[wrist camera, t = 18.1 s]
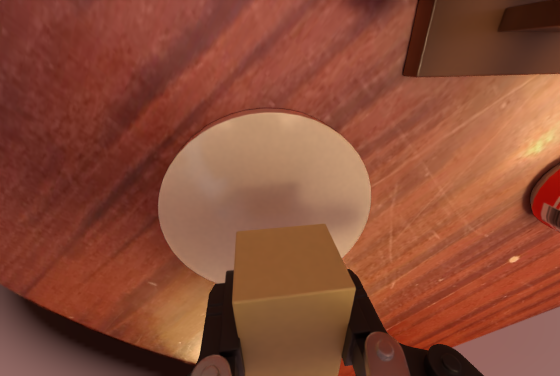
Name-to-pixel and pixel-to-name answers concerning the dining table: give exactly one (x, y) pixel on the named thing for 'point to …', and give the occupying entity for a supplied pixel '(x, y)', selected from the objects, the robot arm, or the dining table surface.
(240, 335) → the butter pat
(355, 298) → the robot arm
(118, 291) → the dining table surface
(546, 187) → the beer can
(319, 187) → the plate
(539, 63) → the brown lever stand
